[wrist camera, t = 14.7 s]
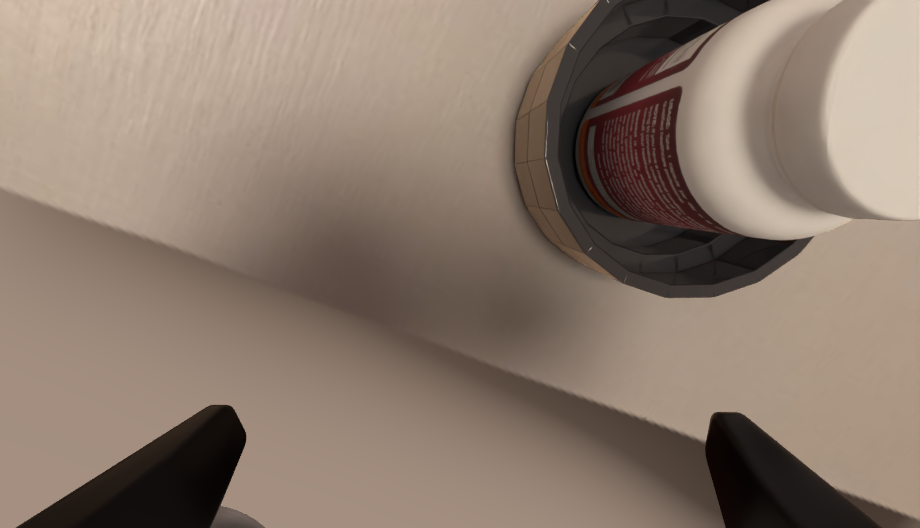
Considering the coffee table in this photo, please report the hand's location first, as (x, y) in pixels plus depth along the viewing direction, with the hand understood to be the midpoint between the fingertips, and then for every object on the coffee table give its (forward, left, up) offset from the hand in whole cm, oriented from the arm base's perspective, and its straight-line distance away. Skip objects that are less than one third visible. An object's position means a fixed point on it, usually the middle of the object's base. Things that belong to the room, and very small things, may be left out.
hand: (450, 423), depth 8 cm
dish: (+10, -4, -12) cm, 16 cm away
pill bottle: (+10, -4, -11) cm, 16 cm away
